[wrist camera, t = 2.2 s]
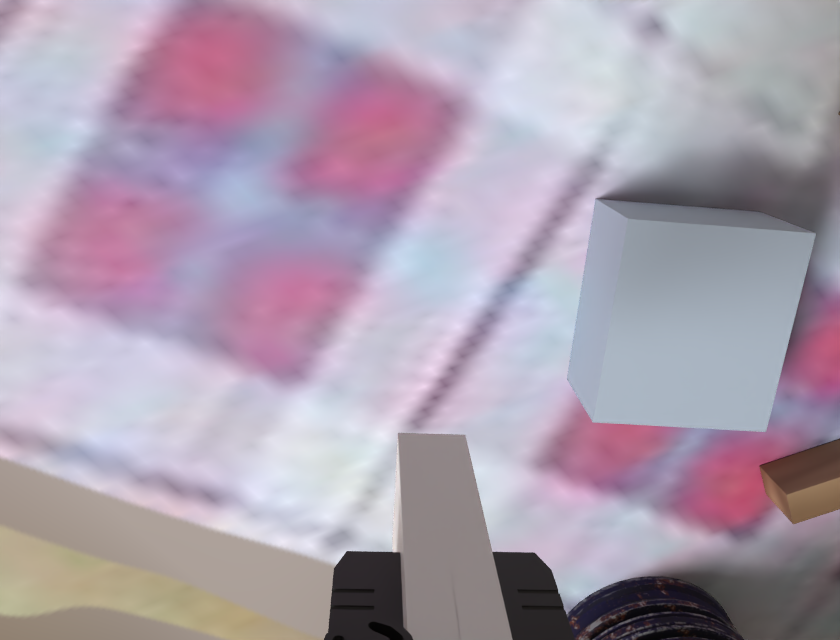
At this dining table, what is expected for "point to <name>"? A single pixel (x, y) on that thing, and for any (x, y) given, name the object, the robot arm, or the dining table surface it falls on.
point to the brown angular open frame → (805, 482)
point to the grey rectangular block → (685, 314)
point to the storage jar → (651, 613)
